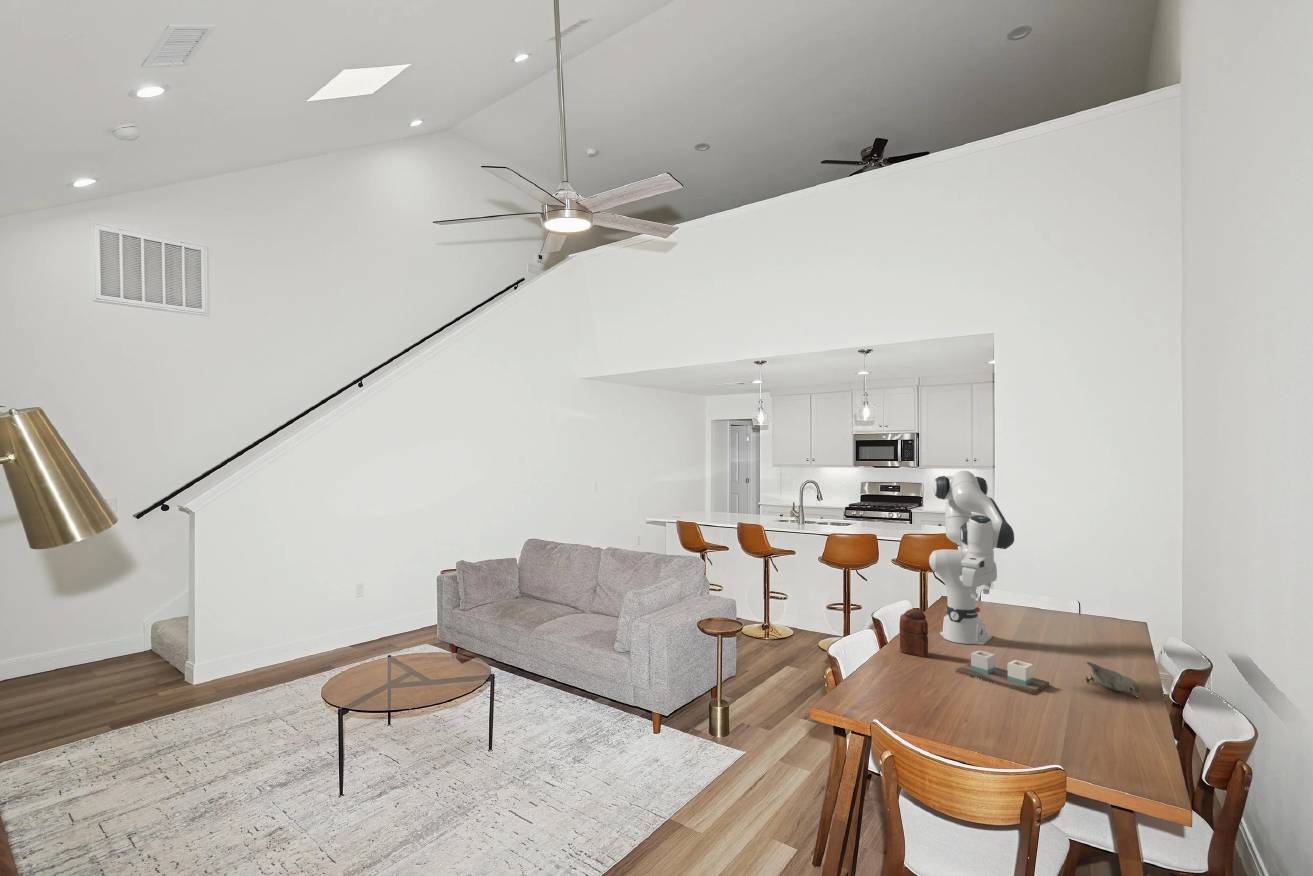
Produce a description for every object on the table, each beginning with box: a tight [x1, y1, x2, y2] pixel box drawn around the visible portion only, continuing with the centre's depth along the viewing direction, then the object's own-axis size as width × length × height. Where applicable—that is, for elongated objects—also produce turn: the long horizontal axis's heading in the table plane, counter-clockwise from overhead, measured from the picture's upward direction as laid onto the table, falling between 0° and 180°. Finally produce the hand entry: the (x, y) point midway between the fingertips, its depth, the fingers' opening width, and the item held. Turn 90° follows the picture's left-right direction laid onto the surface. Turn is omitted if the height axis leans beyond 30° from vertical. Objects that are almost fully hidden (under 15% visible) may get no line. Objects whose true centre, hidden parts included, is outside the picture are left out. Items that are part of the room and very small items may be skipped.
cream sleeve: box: [1007, 659, 1034, 685], centre depth 220 cm, size 6×6×6 cm
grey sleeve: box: [970, 649, 996, 674], centre depth 231 cm, size 6×6×6 cm
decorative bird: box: [1085, 661, 1140, 697], centre depth 215 cm, size 5×16×8 cm, turn 26°
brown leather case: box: [899, 608, 929, 658], centre depth 253 cm, size 12×6×18 cm, turn 49°
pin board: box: [955, 655, 1050, 695], centre depth 225 cm, size 14×26×7 cm, turn 37°
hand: (980, 596), depth 235 cm, fingers open, 8 cm apart
